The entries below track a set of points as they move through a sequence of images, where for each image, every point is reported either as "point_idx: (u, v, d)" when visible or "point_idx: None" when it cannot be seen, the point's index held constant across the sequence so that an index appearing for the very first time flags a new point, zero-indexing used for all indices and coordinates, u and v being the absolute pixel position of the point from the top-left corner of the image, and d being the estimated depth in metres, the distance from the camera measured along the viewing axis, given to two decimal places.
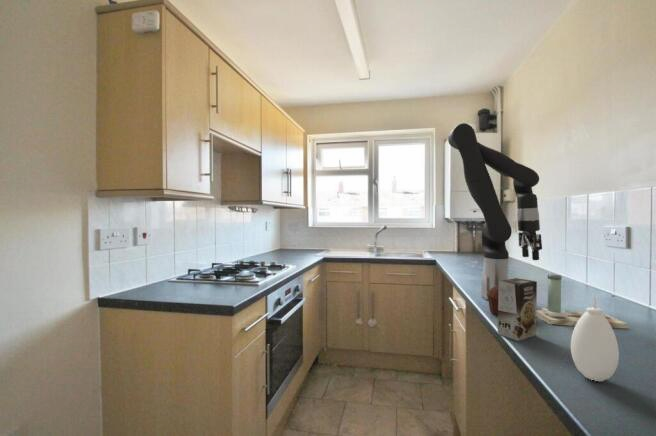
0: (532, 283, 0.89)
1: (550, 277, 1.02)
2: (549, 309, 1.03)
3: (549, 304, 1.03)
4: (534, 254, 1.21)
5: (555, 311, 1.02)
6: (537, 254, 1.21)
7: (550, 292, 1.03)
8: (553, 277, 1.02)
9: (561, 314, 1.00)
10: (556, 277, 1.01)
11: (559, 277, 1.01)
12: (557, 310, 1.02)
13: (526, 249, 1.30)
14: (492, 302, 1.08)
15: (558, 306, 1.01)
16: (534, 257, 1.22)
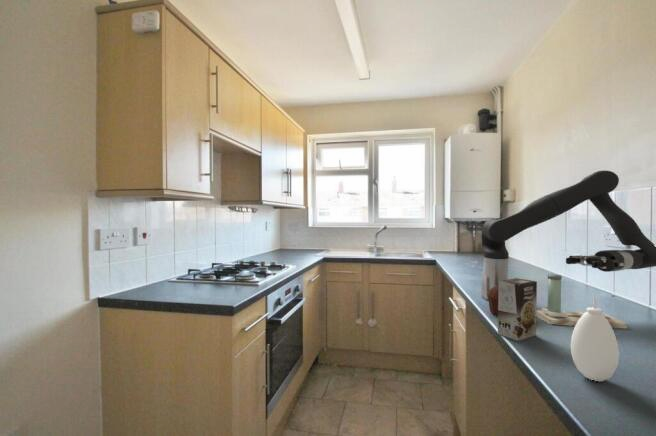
0: (532, 283, 0.89)
1: (550, 277, 1.02)
2: (549, 309, 1.03)
3: (549, 304, 1.03)
4: (600, 262, 1.02)
5: (555, 311, 1.02)
6: (601, 265, 1.02)
7: (550, 292, 1.03)
8: (553, 277, 1.02)
9: (561, 314, 1.00)
10: (556, 277, 1.01)
11: (559, 277, 1.01)
12: (557, 310, 1.02)
13: (574, 261, 1.11)
14: (492, 302, 1.08)
15: (558, 306, 1.01)
16: (597, 262, 1.02)
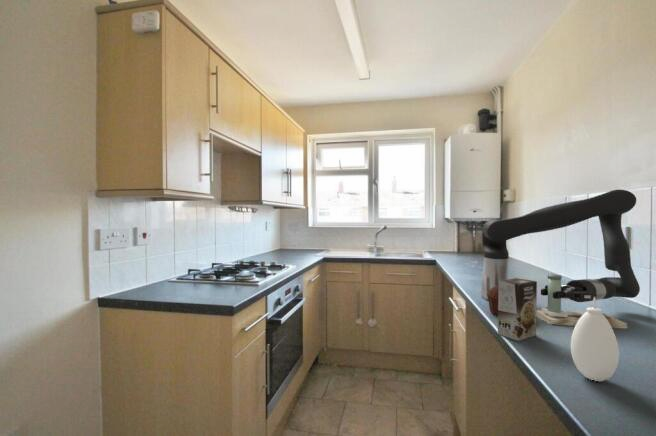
0: (532, 283, 0.89)
1: (550, 277, 1.02)
2: (549, 309, 1.03)
3: (549, 304, 1.03)
4: (561, 293, 1.00)
5: (555, 311, 1.02)
6: (562, 296, 1.00)
7: (550, 292, 1.03)
8: (553, 277, 1.02)
9: (561, 314, 1.00)
10: (556, 277, 1.01)
11: (559, 277, 1.01)
12: (557, 310, 1.02)
13: None
14: (492, 302, 1.08)
15: (558, 306, 1.01)
16: (558, 293, 1.00)
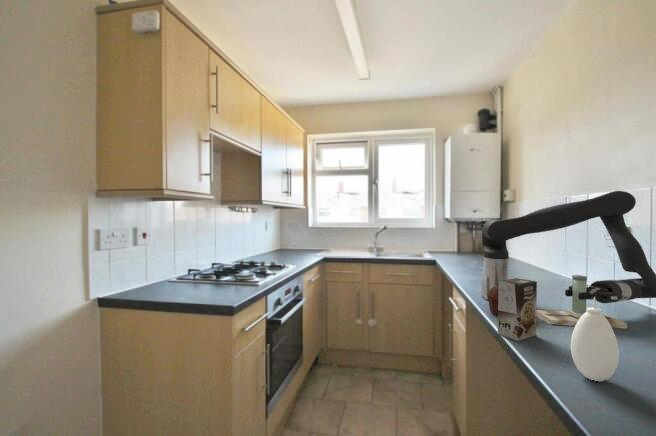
0: (532, 283, 0.89)
1: (575, 278, 1.01)
2: (574, 310, 1.02)
3: (574, 305, 1.02)
4: (587, 294, 0.99)
5: (580, 312, 1.00)
6: (588, 297, 0.99)
7: (575, 293, 1.01)
8: (578, 278, 1.01)
9: None
10: (581, 278, 1.00)
11: (585, 278, 1.00)
12: (582, 311, 1.00)
13: None
14: (492, 302, 1.08)
15: (584, 308, 1.00)
16: (584, 294, 0.99)
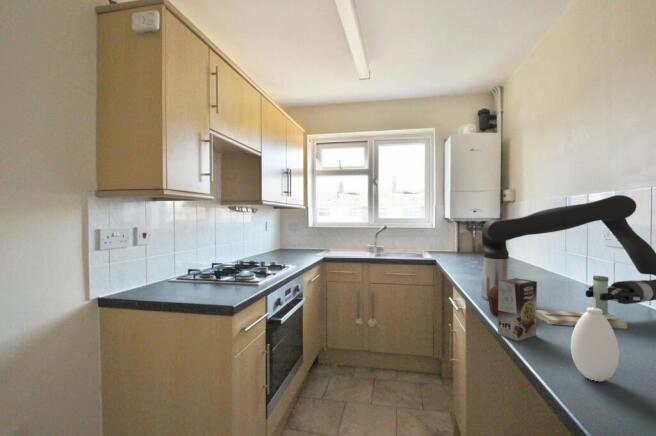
0: (532, 283, 0.89)
1: (596, 278, 1.00)
2: None
3: None
4: (609, 295, 0.98)
5: (602, 313, 0.99)
6: (610, 298, 0.98)
7: (596, 294, 1.00)
8: (600, 278, 0.99)
9: (609, 316, 0.98)
10: (603, 278, 0.99)
11: (606, 278, 0.99)
12: (604, 312, 0.99)
13: None
14: (492, 302, 1.08)
15: (605, 309, 0.99)
16: (606, 295, 0.98)
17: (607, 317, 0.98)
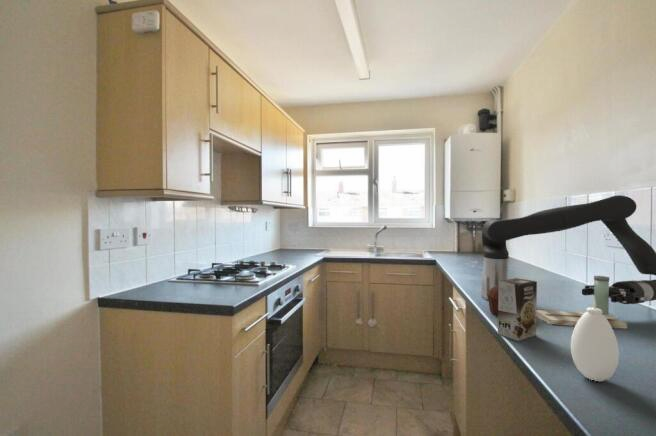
0: (532, 283, 0.89)
1: (597, 278, 1.00)
2: None
3: (596, 306, 1.01)
4: (620, 296, 0.96)
5: (603, 313, 0.99)
6: (621, 300, 0.96)
7: (597, 294, 1.00)
8: (601, 278, 0.99)
9: (609, 316, 0.98)
10: (604, 278, 0.99)
11: (607, 278, 0.99)
12: (605, 312, 0.99)
13: (591, 292, 1.05)
14: (492, 302, 1.08)
15: (606, 309, 0.99)
16: (617, 296, 0.96)
17: (608, 317, 0.98)
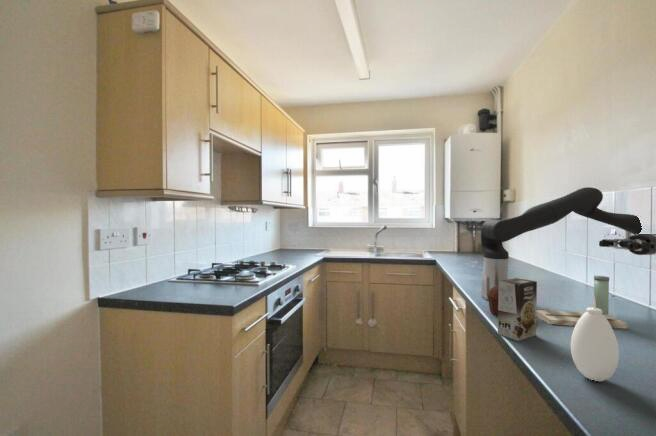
0: (532, 283, 0.89)
1: (597, 278, 1.00)
2: None
3: (596, 306, 1.01)
4: (636, 244, 1.02)
5: (603, 313, 0.99)
6: (637, 247, 1.02)
7: (597, 294, 1.00)
8: (601, 278, 0.99)
9: (609, 316, 0.98)
10: (604, 278, 0.99)
11: (607, 278, 0.99)
12: (605, 312, 0.99)
13: (608, 244, 1.11)
14: (492, 302, 1.08)
15: (606, 309, 0.99)
16: (633, 244, 1.02)
17: (608, 317, 0.98)
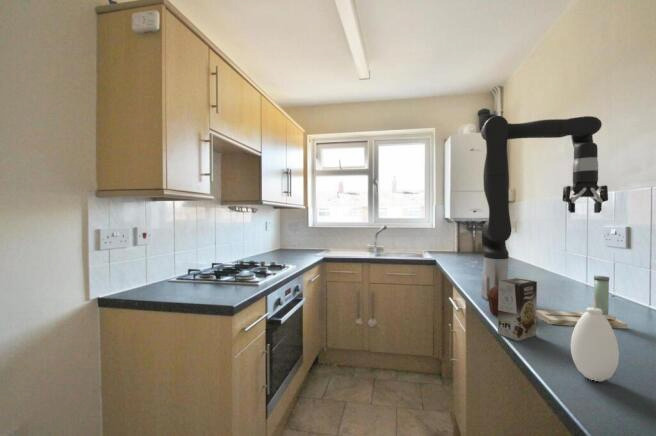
0: (532, 283, 0.89)
1: (597, 278, 1.00)
2: None
3: (596, 306, 1.01)
4: (600, 206, 1.17)
5: (603, 313, 0.99)
6: None
7: (597, 294, 1.00)
8: (601, 278, 0.99)
9: (609, 316, 0.98)
10: (604, 278, 0.99)
11: (607, 278, 0.99)
12: (605, 312, 0.99)
13: None
14: (492, 302, 1.08)
15: (606, 309, 0.99)
16: (600, 209, 1.17)
17: (608, 317, 0.98)
